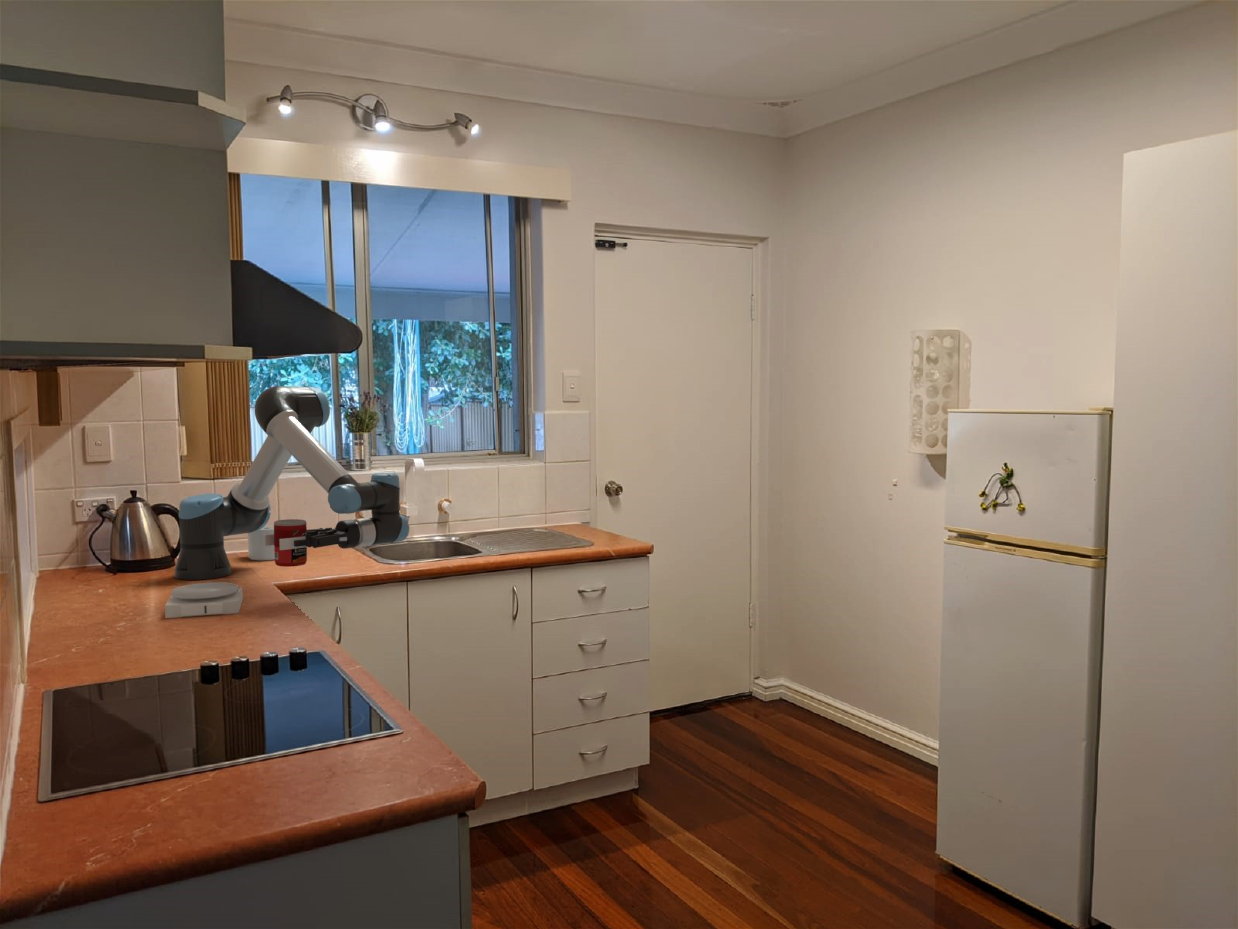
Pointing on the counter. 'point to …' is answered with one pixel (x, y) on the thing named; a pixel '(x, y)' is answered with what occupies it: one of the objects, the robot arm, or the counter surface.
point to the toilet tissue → (260, 544)
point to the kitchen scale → (204, 600)
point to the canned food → (289, 530)
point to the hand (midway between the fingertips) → (272, 542)
